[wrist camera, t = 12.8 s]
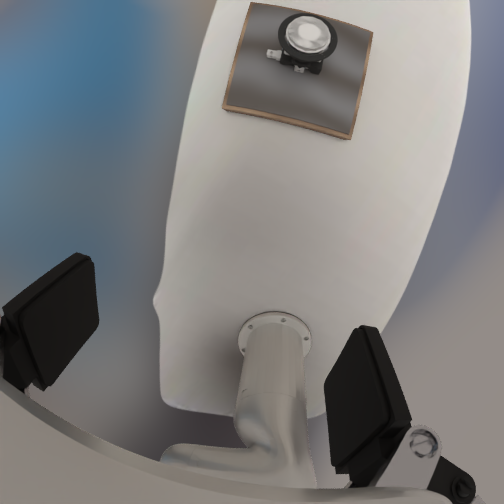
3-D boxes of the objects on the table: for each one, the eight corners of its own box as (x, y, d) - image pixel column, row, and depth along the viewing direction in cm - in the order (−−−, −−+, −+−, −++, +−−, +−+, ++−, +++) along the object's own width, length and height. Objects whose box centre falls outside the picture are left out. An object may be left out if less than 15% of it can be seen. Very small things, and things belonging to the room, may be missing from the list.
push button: (263, 74, 28) (256, 47, 18) (272, 37, 26) (268, 1, 16) (319, 86, 28) (335, 64, 18) (326, 49, 25) (343, 17, 16)
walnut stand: (344, 139, 33) (351, 139, 30) (227, 111, 33) (221, 107, 30) (366, 40, 27) (374, 31, 23) (253, 12, 27) (250, 0, 23)
